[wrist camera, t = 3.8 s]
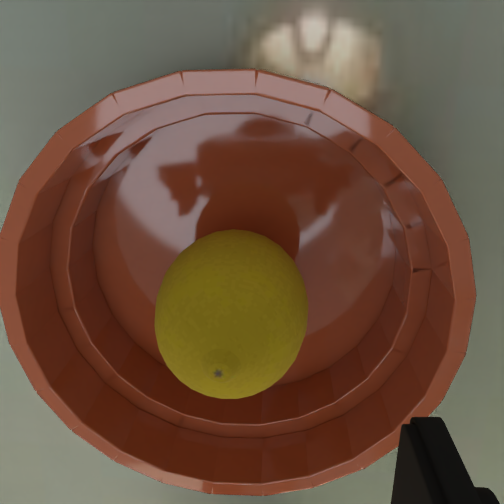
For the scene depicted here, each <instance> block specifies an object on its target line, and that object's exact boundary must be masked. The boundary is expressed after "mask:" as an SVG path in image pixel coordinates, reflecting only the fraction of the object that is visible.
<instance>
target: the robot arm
mask: <svg viewBox="0 0 504 504" xmlns="http://www.w3.org/2000/svg"><path fill="white" fill-rule="evenodd" d="M391 504H500V503H499V501H498V500H497V498H496V496H495V495H494V493H493V492H492V491H491V490H490V489H489V488H484V487H474V485H473V483H472V481H471V479H470V476H469V474H468V472H467V470H466V468H465V466H464V464H463V462H462V459H461V457H460V455H459V453H458V451H457V449H456V447H455V444H454V442H453V440H452V438H451V436H450V434H449V432H448V430H447V427H446V425H445V423H444V421H443V420H442V419H441V418H440V417H412V418H411V419H410V423H409V424H402V426H401V431H400V439H399V446H398V454H397V462H396V469H395V477H394V484H393V492H392V499H391Z"/></svg>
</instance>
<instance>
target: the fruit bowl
mask: <svg viewBox="0 0 504 504" xmlns="http://www.w3.org/2000/svg"><path fill="white" fill-rule="evenodd" d="M231 229H236V230H246V231H251V232H254V233H257V234H260V235H263V236H266V237H267V238H269V239H270V240H272V241H274V242H275V243H277V244H278V245H280V246H281V247H282V248H283V249H284V251H285V252H286V253H287V254H288V255H289V256H290V257H291V258H292V259H293V261H294V263H295V264H296V266H297V268H298V270H299V272H300V274H301V276H302V278H303V280H304V284H305V289H306V293H307V298H308V319H307V329H306V333H305V336H304V339H303V342H302V344H301V347H300V350H299V352H298V355H297V357H296V359H295V361H294V362H293V363H292V365H291V366H290V367H289V369H288V370H287V372H286V373H285V374H284V375H283V377H282V378H280V379H279V380H278V381H277V382H275V383H274V384H273V385H272V386H270V387H269V388H267V389H266V390H263V391H261V392H259V393H257V394H255V395H252V396H248V397H243V398H239V399H220V398H215V397H210V396H206V395H204V394H202V393H199V392H197V391H195V390H192V389H191V388H189V387H188V386H187V385H185V384H184V383H182V382H181V381H180V380H179V379H178V378H177V377H176V376H175V375H174V374H173V372H172V371H171V370H170V369H169V368H168V366H167V365H166V363H165V361H164V359H163V357H162V355H161V353H160V351H159V347H158V343H157V338H156V334H155V326H154V324H155V309H156V299H157V295H158V292H159V289H160V286H161V284H162V281H163V278H164V276H165V273H166V271H167V270H168V268H169V267H170V266H171V264H172V263H173V262H174V260H175V259H176V258H177V256H178V255H179V254H180V253H181V252H182V251H183V250H184V249H186V248H187V247H188V246H190V245H191V244H192V243H194V242H195V241H196V240H198V239H199V238H202V237H204V236H207V235H209V234H211V233H214V232H217V231H224V230H231ZM475 302H476V288H475V280H474V272H473V265H472V257H471V249H470V241H469V238H468V234H467V232H466V230H465V228H464V225H463V223H462V221H461V219H460V217H459V215H458V213H457V210H456V208H455V206H454V204H453V202H452V200H451V197H450V195H449V193H448V191H447V189H446V187H445V185H444V182H443V180H442V179H441V178H440V176H439V175H438V174H437V173H436V172H435V171H434V169H433V168H432V167H431V166H430V165H429V164H428V163H427V162H426V161H425V160H424V158H423V157H422V156H421V155H420V154H419V153H418V152H417V151H416V150H415V149H414V147H413V146H412V145H411V144H410V143H409V142H408V141H407V140H406V139H405V138H404V136H403V135H402V134H401V133H400V132H399V131H398V130H397V129H396V128H395V127H393V125H391V124H390V123H388V122H386V121H385V120H383V119H381V118H380V117H378V116H376V115H375V114H373V113H371V112H370V111H368V110H366V109H365V108H363V107H361V106H360V105H358V104H356V103H355V102H353V101H351V100H350V99H348V98H346V97H345V96H343V95H341V94H340V93H338V92H336V91H335V90H333V89H331V88H328V87H326V86H323V85H321V84H318V83H315V82H311V81H307V80H303V79H300V78H296V77H292V76H288V75H285V74H281V73H277V72H273V71H269V70H266V69H255V68H254V69H209V70H182V71H177V72H174V73H171V74H167V75H164V76H161V77H158V78H155V79H152V80H149V81H146V82H143V83H139V84H136V85H133V86H130V87H127V88H124V89H121V90H118V91H114V92H113V93H110V94H109V95H107V96H106V97H105V98H103V99H102V100H100V101H99V102H97V103H96V104H95V105H93V106H92V107H90V108H89V109H87V110H86V111H84V112H83V113H82V114H80V115H79V116H77V117H76V118H74V119H73V120H72V121H70V122H69V123H67V124H66V125H64V126H63V127H62V128H60V129H59V130H58V131H57V132H55V134H54V135H53V136H52V137H51V139H50V140H49V141H48V143H47V144H46V145H45V147H44V148H43V149H42V151H41V152H40V153H39V155H38V156H37V157H36V158H35V160H34V161H33V162H32V164H31V165H30V166H29V168H28V169H27V170H26V172H25V173H24V174H23V176H22V177H21V178H20V179H19V183H18V185H17V187H16V190H15V193H14V196H13V199H12V202H11V204H10V207H9V210H8V213H7V216H6V219H5V221H4V224H3V227H2V230H1V233H0V309H1V313H2V317H3V321H4V325H5V329H6V333H7V337H8V341H9V344H10V345H11V348H12V350H13V351H14V353H15V355H16V357H17V359H18V361H19V362H20V364H21V366H22V368H23V370H24V371H25V373H26V375H27V377H28V379H29V381H30V382H31V384H32V386H33V388H34V390H35V391H37V394H38V395H39V396H40V397H41V398H42V399H43V400H44V401H45V403H46V404H47V405H48V406H49V407H50V408H51V409H52V410H53V411H54V412H55V414H56V415H57V416H58V417H59V418H60V419H61V420H62V421H63V422H64V423H65V425H66V426H67V427H68V428H69V429H70V430H72V431H73V432H74V433H75V434H77V435H78V436H79V437H81V438H82V439H84V440H85V441H86V442H88V443H89V444H91V445H92V446H93V447H95V448H96V449H98V450H99V451H100V452H102V453H103V454H105V455H106V456H107V457H109V458H110V459H111V460H114V461H115V462H117V463H119V464H121V465H123V466H126V467H128V468H130V469H132V470H135V471H137V472H139V473H141V474H144V475H146V476H148V477H150V478H153V479H155V480H157V481H159V482H162V483H165V484H169V485H174V486H178V487H182V488H187V489H191V490H195V491H199V492H204V493H208V494H211V493H212V494H224V495H251V496H263V495H264V496H267V495H273V494H279V493H286V492H292V491H298V490H305V489H311V488H314V487H318V486H320V485H323V484H325V483H328V482H331V481H333V480H336V479H338V478H341V477H344V476H346V475H349V474H352V473H354V472H357V471H359V470H361V469H365V468H366V467H368V466H369V465H371V464H372V463H374V462H375V461H377V460H378V459H380V458H381V457H383V456H384V455H386V454H387V453H389V452H390V451H392V450H393V449H395V448H396V447H398V446H399V439H400V431H401V426H402V424H409V423H410V419H411V418H412V417H428V416H429V415H430V414H431V413H432V412H433V411H434V410H435V408H436V407H437V406H438V405H439V404H440V403H441V401H442V400H443V398H444V397H445V395H446V393H447V391H448V389H449V387H450V385H451V383H452V381H453V379H454V377H455V375H456V373H457V371H458V369H459V367H460V365H461V363H462V361H463V359H464V357H465V355H466V351H467V346H468V341H469V335H470V329H471V324H472V318H473V313H474V307H475Z"/></svg>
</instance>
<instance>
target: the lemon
mask: <svg viewBox="0 0 504 504" xmlns="http://www.w3.org/2000/svg"><path fill="white" fill-rule="evenodd" d="M307 319H308V298H307V293H306V289H305V284H304V280H303V278H302V276H301V274H300V272H299V270H298V268H297V266H296V264H295V263H294V261H293V259H292V258H291V257H290V256H289V255H288V254H287V253H286V252H285V251H284V249H283V248H282V247H281V246H280V245H278V244H277V243H275V242H274V241H272V240H270V239H269V238H267V237H266V236H263V235H260V234H257V233H254V232H251V231H246V230H236V229H231V230H224V231H217V232H214V233H211V234H209V235H207V236H204V237H202V238H199V239H198V240H196V241H195V242H194V243H192V244H191V245H190V246H188V247H187V248H186V249H184V250H183V251H182V252H181V253H180V254H179V255H178V256H177V258H176V259H175V260H174V262H173V263H172V264H171V266H170V267H169V268H168V270H167V271H166V273H165V276H164V278H163V281H162V284H161V286H160V289H159V292H158V295H157V299H156V309H155V324H154V326H155V334H156V338H157V343H158V347H159V351H160V353H161V355H162V357H163V359H164V361H165V363H166V365H167V366H168V368H169V369H170V370H171V371H172V372H173V374H174V375H175V376H176V377H177V378H178V379H179V380H180V381H181V382H182V383H184V384H185V385H187V386H188V387H189V388H191V389H192V390H195V391H197V392H199V393H202V394H204V395H206V396H210V397H215V398H220V399H239V398H243V397H248V396H252V395H255V394H257V393H259V392H261V391H263V390H266V389H267V388H269V387H270V386H272V385H273V384H274V383H275V382H277V381H278V380H279V379H280V378H282V377H283V375H284V374H285V373H286V372H287V370H288V369H289V367H290V366H291V365H292V363H293V362H294V361H295V359H296V357H297V355H298V352H299V350H300V347H301V344H302V342H303V339H304V336H305V333H306V329H307Z"/></svg>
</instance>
